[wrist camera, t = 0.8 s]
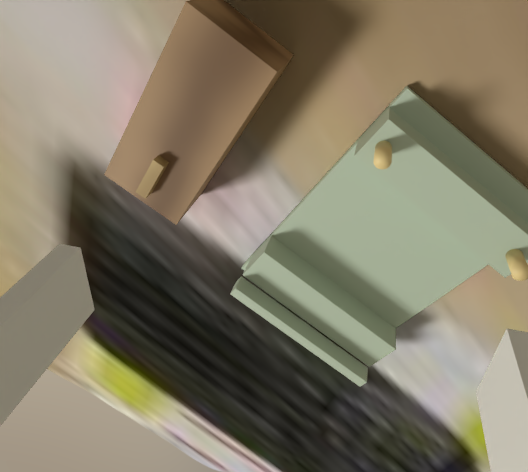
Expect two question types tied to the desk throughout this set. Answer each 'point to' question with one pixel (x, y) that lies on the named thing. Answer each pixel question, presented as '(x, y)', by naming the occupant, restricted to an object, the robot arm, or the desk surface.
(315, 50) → the desk surface
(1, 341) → the robot arm
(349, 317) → the carcass
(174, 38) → the door
